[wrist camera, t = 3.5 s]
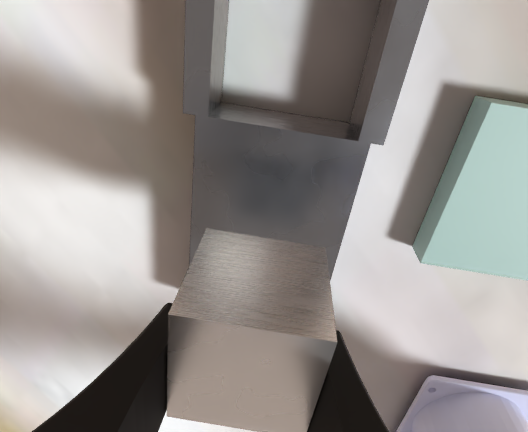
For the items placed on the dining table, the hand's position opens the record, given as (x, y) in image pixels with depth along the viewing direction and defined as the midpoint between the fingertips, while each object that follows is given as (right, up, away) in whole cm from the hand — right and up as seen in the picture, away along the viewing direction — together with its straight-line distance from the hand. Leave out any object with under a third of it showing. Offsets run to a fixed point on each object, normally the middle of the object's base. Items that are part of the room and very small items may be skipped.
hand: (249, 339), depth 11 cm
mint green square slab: (+13, +5, +6) cm, 15 cm away
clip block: (0, +1, +2) cm, 2 cm away
